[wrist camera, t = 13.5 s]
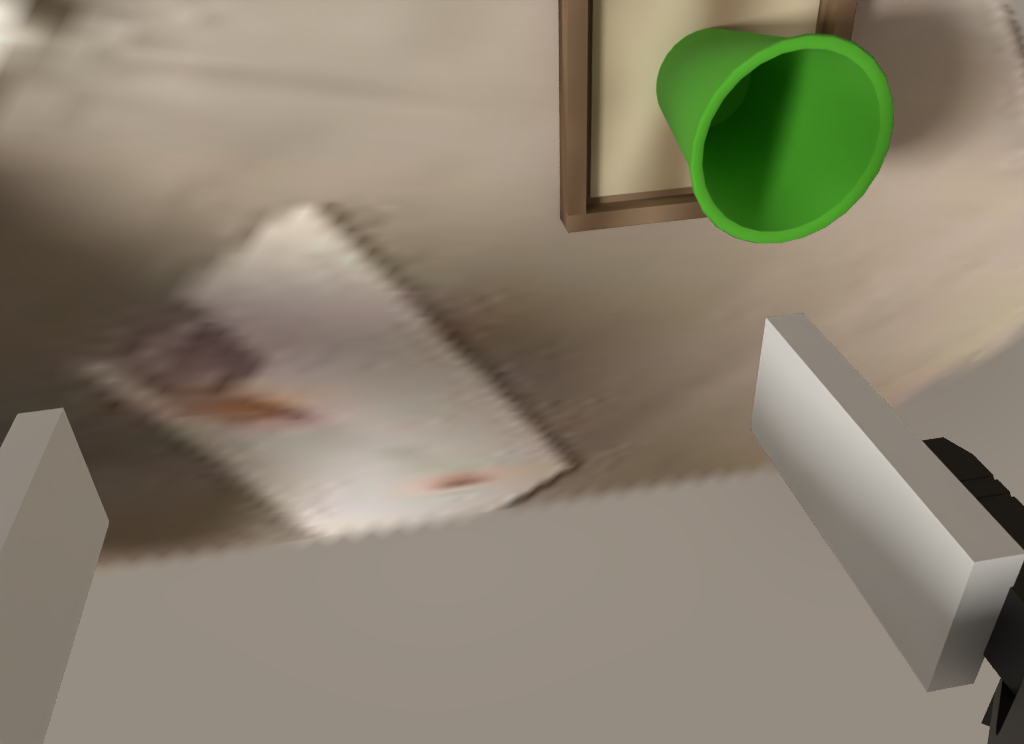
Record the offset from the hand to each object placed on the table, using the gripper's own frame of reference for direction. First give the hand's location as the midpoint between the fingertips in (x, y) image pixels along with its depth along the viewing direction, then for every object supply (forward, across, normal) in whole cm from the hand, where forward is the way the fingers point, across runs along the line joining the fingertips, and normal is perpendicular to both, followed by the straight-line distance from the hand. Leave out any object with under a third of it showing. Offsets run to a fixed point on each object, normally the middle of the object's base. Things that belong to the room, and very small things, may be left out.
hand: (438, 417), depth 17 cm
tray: (+32, +17, -3) cm, 36 cm away
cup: (+31, +17, -3) cm, 35 cm away
